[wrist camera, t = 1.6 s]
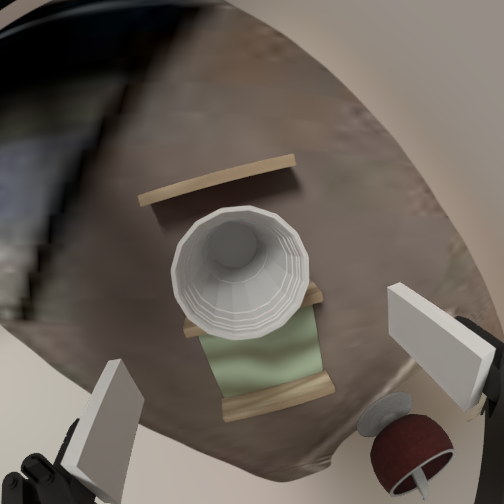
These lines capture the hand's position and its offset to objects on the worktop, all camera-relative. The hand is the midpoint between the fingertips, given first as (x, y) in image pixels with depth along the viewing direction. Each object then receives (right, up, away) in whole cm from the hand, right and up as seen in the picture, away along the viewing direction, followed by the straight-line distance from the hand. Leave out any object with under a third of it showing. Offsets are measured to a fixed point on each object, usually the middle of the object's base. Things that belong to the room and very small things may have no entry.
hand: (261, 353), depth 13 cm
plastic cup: (-3, +6, +21) cm, 22 cm away
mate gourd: (+26, -28, +33) cm, 50 cm away
